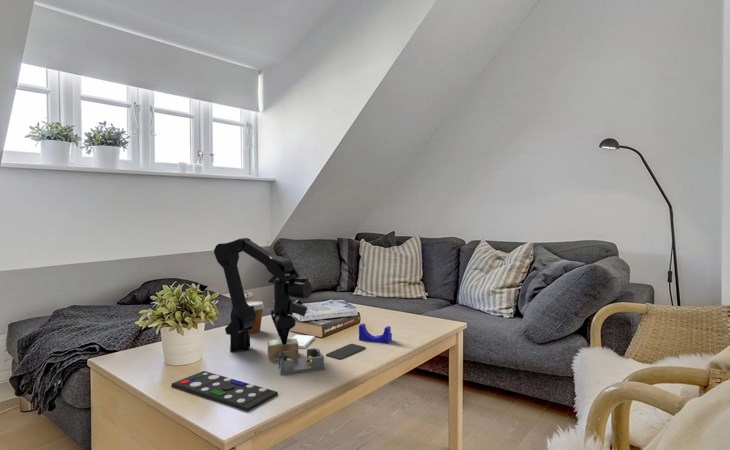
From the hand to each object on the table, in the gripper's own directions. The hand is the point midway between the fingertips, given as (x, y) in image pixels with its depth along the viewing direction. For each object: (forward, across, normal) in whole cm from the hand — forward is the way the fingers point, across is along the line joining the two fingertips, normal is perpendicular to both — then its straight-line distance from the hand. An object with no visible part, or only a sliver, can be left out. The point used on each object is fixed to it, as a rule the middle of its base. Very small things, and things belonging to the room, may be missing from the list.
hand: (282, 340), depth 146 cm
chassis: (+5, -12, -4) cm, 14 cm away
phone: (+6, -3, -22) cm, 23 cm away
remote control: (+6, -23, +20) cm, 31 cm away
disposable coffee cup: (+6, +34, +8) cm, 35 cm away
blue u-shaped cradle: (+6, +6, -37) cm, 38 cm away
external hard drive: (+6, +13, -8) cm, 16 cm away
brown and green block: (+6, 0, 0) cm, 6 cm away
